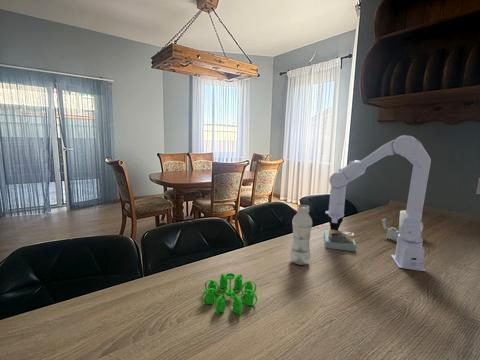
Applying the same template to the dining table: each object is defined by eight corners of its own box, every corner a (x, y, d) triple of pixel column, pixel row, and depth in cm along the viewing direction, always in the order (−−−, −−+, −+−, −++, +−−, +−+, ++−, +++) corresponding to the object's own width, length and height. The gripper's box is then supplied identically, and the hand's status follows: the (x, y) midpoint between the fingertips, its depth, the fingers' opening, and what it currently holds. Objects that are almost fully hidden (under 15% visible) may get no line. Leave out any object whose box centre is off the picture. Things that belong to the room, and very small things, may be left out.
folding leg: (353, 240, 103) (354, 232, 102) (352, 242, 101) (353, 234, 100) (329, 236, 107) (329, 228, 106) (328, 238, 105) (329, 230, 104)
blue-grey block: (355, 251, 99) (356, 237, 99) (325, 247, 102) (326, 234, 101) (350, 238, 112) (352, 226, 111) (323, 235, 115) (324, 223, 114)
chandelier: (245, 327, 59) (246, 299, 58) (189, 308, 65) (189, 283, 64) (265, 291, 73) (266, 268, 72) (218, 279, 79) (218, 257, 77)
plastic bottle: (310, 268, 86) (315, 209, 82) (289, 266, 87) (293, 208, 84) (309, 259, 92) (313, 204, 88) (289, 257, 93) (293, 203, 90)
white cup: (411, 231, 123) (414, 210, 121) (421, 237, 115) (424, 215, 113) (394, 230, 124) (396, 209, 122) (402, 236, 116) (405, 214, 114)
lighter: (397, 240, 111) (400, 222, 109) (395, 241, 110) (398, 223, 109) (381, 235, 117) (383, 218, 115) (379, 235, 116) (381, 218, 115)
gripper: (328, 197, 112) (325, 227, 115) (324, 205, 99) (321, 239, 101) (345, 199, 109) (342, 230, 112) (344, 207, 96) (341, 242, 99)
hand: (333, 234), depth 106 cm, fingers closed, pressing on folding leg
